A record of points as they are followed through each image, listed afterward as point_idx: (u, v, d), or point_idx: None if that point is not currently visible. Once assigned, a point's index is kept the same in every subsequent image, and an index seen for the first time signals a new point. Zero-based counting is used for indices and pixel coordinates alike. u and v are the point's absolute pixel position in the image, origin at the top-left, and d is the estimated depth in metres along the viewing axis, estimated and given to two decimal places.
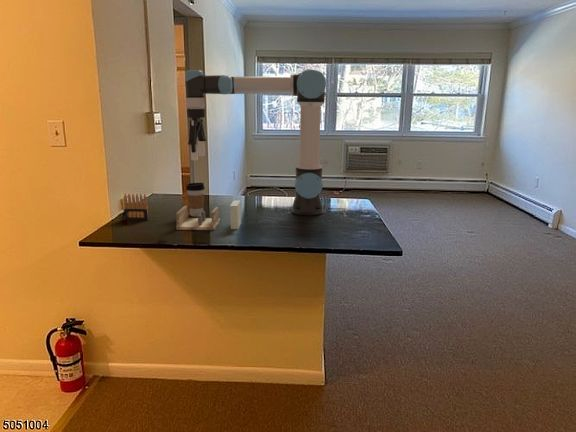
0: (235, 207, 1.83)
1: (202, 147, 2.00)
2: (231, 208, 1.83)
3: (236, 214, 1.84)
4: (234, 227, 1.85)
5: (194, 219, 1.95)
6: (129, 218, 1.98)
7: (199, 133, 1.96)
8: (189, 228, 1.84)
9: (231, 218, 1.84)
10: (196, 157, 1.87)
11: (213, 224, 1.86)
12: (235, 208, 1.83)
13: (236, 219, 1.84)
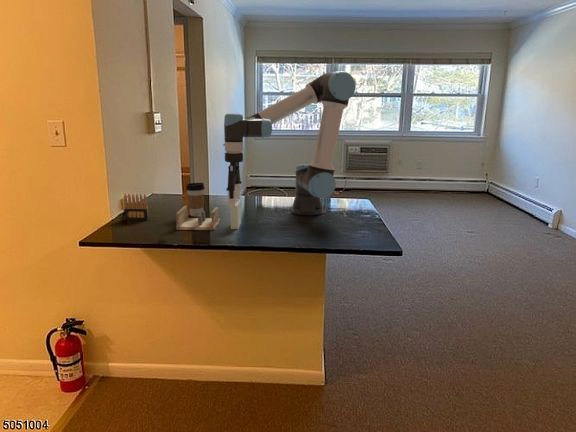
0: (235, 207, 1.83)
1: (237, 190, 1.93)
2: (231, 208, 1.83)
3: (236, 214, 1.84)
4: (234, 227, 1.85)
5: (194, 219, 1.95)
6: (129, 218, 1.98)
7: (236, 176, 1.89)
8: (189, 228, 1.84)
9: (231, 218, 1.84)
10: (234, 203, 1.80)
11: (213, 224, 1.86)
12: (235, 208, 1.83)
13: (236, 219, 1.84)
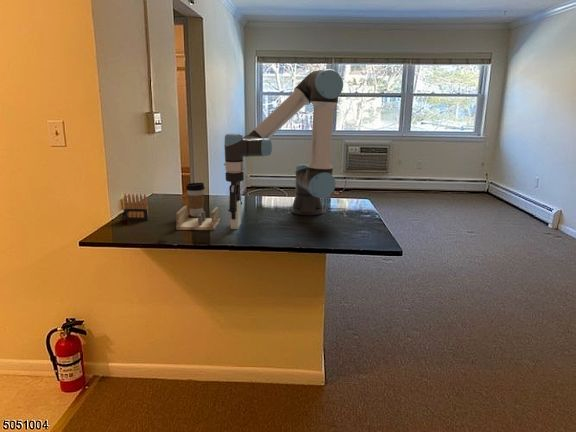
0: None
1: None
2: None
3: None
4: (234, 227, 1.85)
5: (194, 219, 1.95)
6: (129, 218, 1.98)
7: (237, 196, 1.90)
8: (189, 228, 1.84)
9: None
10: (236, 223, 1.84)
11: (213, 224, 1.86)
12: None
13: None
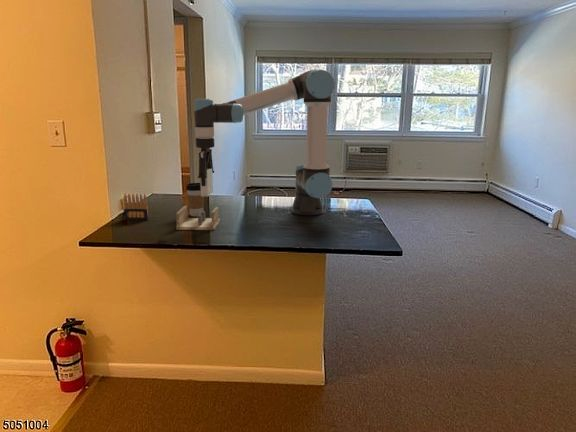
0: None
1: None
2: None
3: None
4: (204, 194, 1.82)
5: (194, 219, 1.95)
6: (129, 218, 1.98)
7: (208, 164, 1.87)
8: (189, 228, 1.84)
9: None
10: (206, 191, 1.81)
11: (213, 224, 1.86)
12: None
13: None
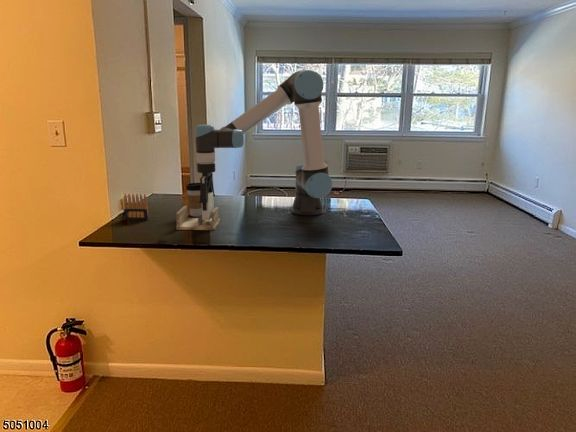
0: None
1: None
2: None
3: None
4: (205, 218, 1.84)
5: (194, 219, 1.95)
6: (129, 218, 1.98)
7: (209, 188, 1.90)
8: (189, 228, 1.84)
9: None
10: (207, 215, 1.83)
11: (213, 224, 1.86)
12: None
13: None
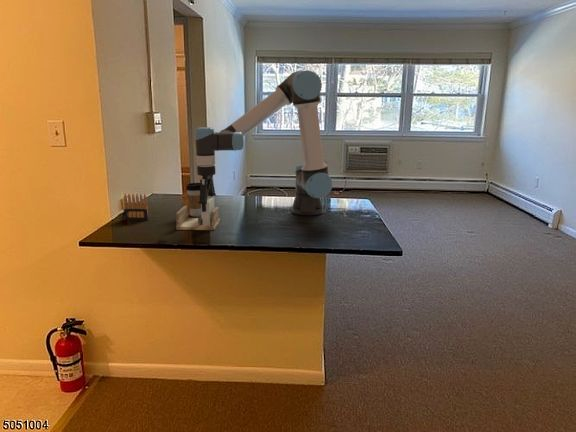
0: None
1: None
2: None
3: (208, 211, 1.84)
4: (206, 224, 1.85)
5: (194, 219, 1.95)
6: (129, 218, 1.98)
7: (209, 189, 1.91)
8: (189, 228, 1.84)
9: None
10: (206, 216, 1.82)
11: (213, 224, 1.86)
12: None
13: (208, 216, 1.84)
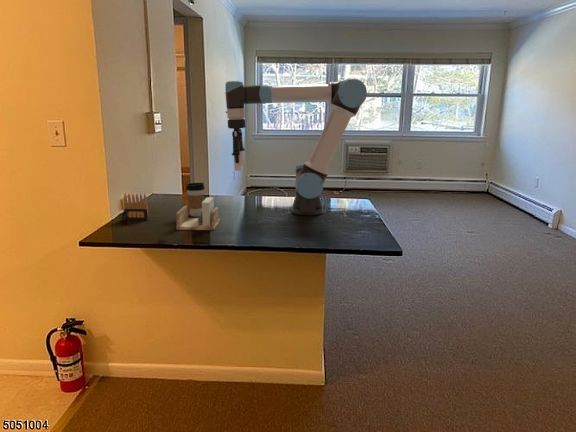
0: (207, 204, 1.83)
1: (241, 157, 2.00)
2: (203, 205, 1.83)
3: (208, 211, 1.84)
4: (206, 224, 1.85)
5: (194, 219, 1.95)
6: (129, 218, 1.98)
7: (239, 143, 1.96)
8: (189, 228, 1.84)
9: (203, 215, 1.84)
10: (240, 167, 1.87)
11: (213, 224, 1.86)
12: (207, 205, 1.83)
13: (208, 216, 1.84)
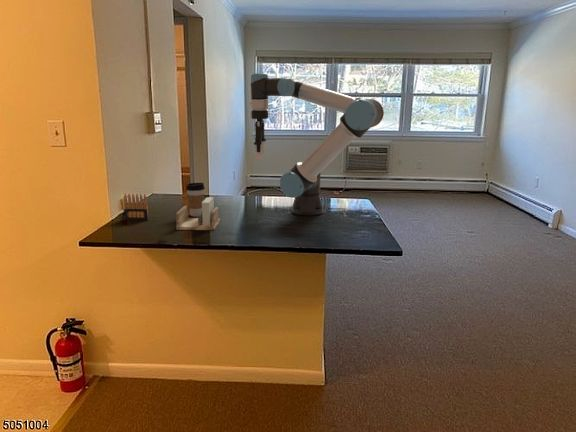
0: (207, 204, 1.83)
1: (262, 147, 2.07)
2: (203, 205, 1.83)
3: (208, 211, 1.84)
4: (206, 224, 1.85)
5: (194, 219, 1.95)
6: (129, 218, 1.98)
7: (261, 133, 2.04)
8: (189, 228, 1.84)
9: (203, 215, 1.84)
10: (261, 157, 1.95)
11: (213, 224, 1.86)
12: (207, 205, 1.83)
13: (208, 216, 1.84)
